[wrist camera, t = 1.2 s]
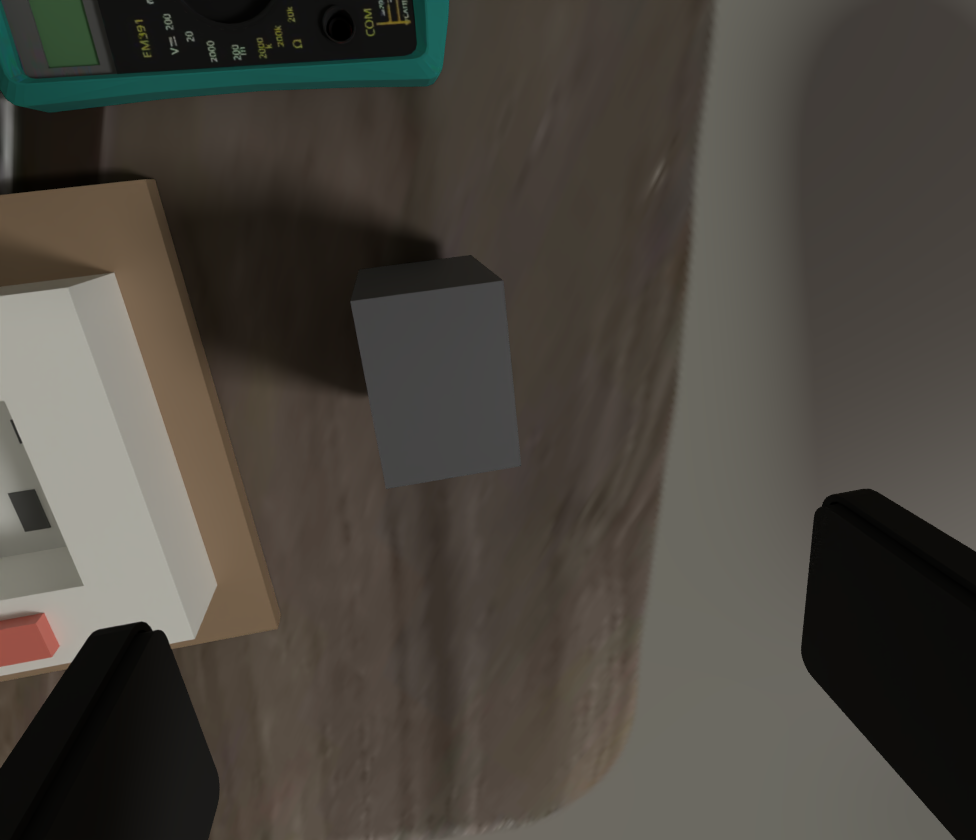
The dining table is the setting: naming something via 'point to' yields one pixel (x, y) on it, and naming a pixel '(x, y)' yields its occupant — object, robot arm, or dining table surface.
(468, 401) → the plug
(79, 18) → the digital multimeter
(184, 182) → the dining table surface
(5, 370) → the socket
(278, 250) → the dining table surface
